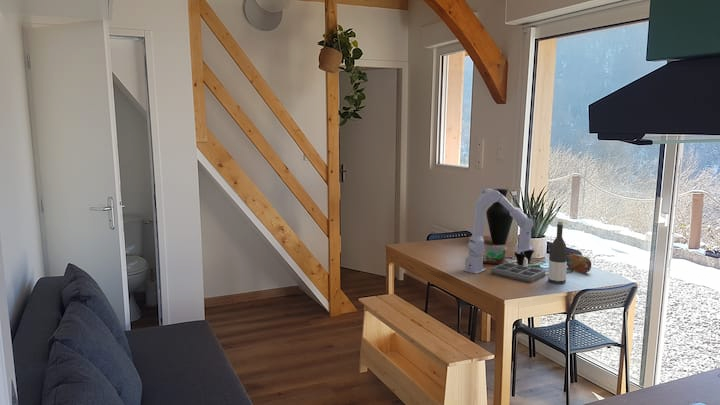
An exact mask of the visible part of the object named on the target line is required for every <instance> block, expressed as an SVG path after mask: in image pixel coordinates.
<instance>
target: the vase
mask: <svg viewBox="0 0 720 405" xmlns="http://www.w3.org/2000/svg"><path fill="white" fill-rule="evenodd" d="M493 190H497V191H499V192H500V193H501V194H502V195H503V196H504V197H505V198H506V199H507V194H508V189H507V188H495V189H493ZM486 209H487V210H486V211H485V216H486V219H487V224H488V228H489V229H488V230H489V235H490V240H491V243H492V244H493V245H495V246H506V244H507V240H508V237H509V234H510V230H511V226H512V224H513V220H514V219H513V218H512V217H511V216H510V211H509V210H507V209H506V208H505V207H504V206H503V205H502V204H501V203H499V202H495V203H492V204H490V205H489V206H488V208H486Z"/></svg>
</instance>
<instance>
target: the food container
mask: <svg viewBox="0 0 720 405" xmlns="http://www.w3.org/2000/svg"><path fill="white" fill-rule="evenodd" d="M484 246H485V254H486V255H485V256H486V257H485V258H486V263H487V262H488V263H487V264H490V263H491V264H490V265H500V264H499V263H501V262H503V261H504V262H505V259H506V252H507V250H508V247H507V245H503V246H501V245H489V244H484Z"/></svg>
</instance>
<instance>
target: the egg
mask: <svg viewBox="0 0 720 405" xmlns="http://www.w3.org/2000/svg"><path fill="white" fill-rule="evenodd" d="M528 265H529V263H528V259H527V258H526V257H524V261H523V266H526V267H529V266H528Z"/></svg>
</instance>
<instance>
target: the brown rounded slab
mask: <svg viewBox="0 0 720 405" xmlns="http://www.w3.org/2000/svg"><path fill="white" fill-rule="evenodd" d="M567 268H568V269H569V268H570V270H572V271H575V272H578V273H581V274H584V273H588V272H590V271H591V269H592V261H591V260H590V258H589V257H587V256H584V255H580V254H578V253H577V254H576V253H569V254H567Z"/></svg>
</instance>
